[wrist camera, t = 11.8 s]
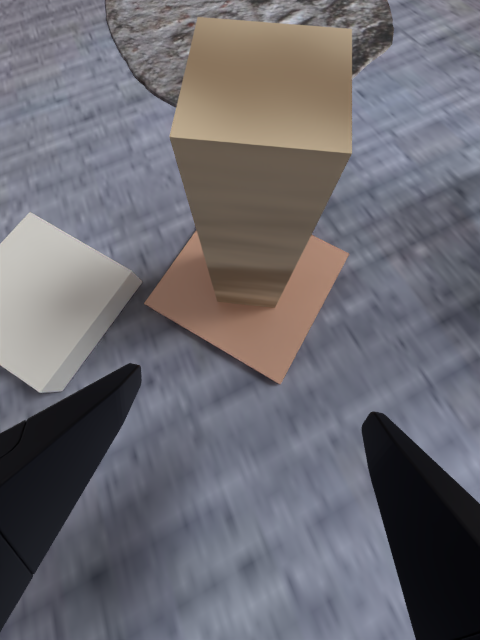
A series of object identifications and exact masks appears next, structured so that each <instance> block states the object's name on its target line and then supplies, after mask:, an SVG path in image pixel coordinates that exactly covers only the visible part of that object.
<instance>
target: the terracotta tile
mask: <svg viewBox="0 0 480 640" xmlns="http://www.w3.org/2000/svg"><path fill="white" fill-rule="evenodd" d="M348 255H349V253H347V252H345V251H343V250H341V249H339V248H337V247H335V246H333V245H331V244H329V243H327V242H325V241H323V240H321V239H319V238H317V237H315V236H313V235H311V237H310V239H309V241H308V243H307V245H306V247H305V249H304V251H303V253H302V255H301V257H300V259H299V261H298V263H297V265H296V267H295V269H294V271H293V273H292V275H291V277H290V279H289V281H288V283H287V285H286V287H285V289H284V291H283V293H282V295H281V297H280V299H279V301H278V303H277V305H276V307H275V308H272V307H262V306H253V305H244V304H235V303H226V302H217V299H216V295H215V292H214V288H213V285H212V282H211V278H210V275H209V271H208V268H207V264H206V261H205V257H204V254H203V251H202V247H201V244H200V240H199V237H198V233H197V230H196V232H195V233H194V234H193V236H192V237H191V239H190V240H189V241H188V243H187V244H186V246H185V247H184V248H183V250H182V251H181V253H180V254H179V255H178V257H177V258H176V259H175V261H174V262H173V264H172V265H171V266H170V268H169V269H168V271H167V272H166V273H165V275H164V276H163V278H162V279H161V280H160V282H159V283H158V285H157V286H156V287H155V289H154V290H153V292H152V293H151V294H150V296H149V297H148V299H147V300H146V301H145V303H144V304H145V305H147V306H148V307H150V308H152V309H153V310H155V311H157V312H158V313H160V314H162V315H163V316H165V317H167V318H168V319H170V320H172V321H173V322H175V323H177V324H178V325H180V326H182V327H184V328H185V329H187V330H189V331H190V332H192V333H194V334H195V335H197V336H199V337H200V338H202V339H204V340H205V341H207V342H209V343H210V344H212V345H214V346H215V347H217V348H219V349H221V350H222V351H224V352H226V353H227V354H229V355H231V356H232V357H234V358H236V359H237V360H239V361H241V362H242V363H244V364H246V365H247V366H249V367H251V368H252V369H254V370H256V371H258V372H259V373H261V374H263V375H264V376H266V377H268V378H269V379H271V380H273V381H274V382H276V383H278V384H281V382H282V381H283V379H284V377H285V375H286V373H287V371H288V369H289V367H290V365H291V363H292V362H293V360H294V358H295V356H296V354H297V352H298V350H299V348H300V346H301V345H302V343H303V341H304V339H305V337H306V335H307V333H308V331H309V329H310V327H311V326H312V324H313V322H314V320H315V318H316V316H317V314H318V312H319V310H320V308H321V307H322V305H323V303H324V301H325V299H326V297H327V295H328V293H329V291H330V290H331V288H332V286H333V284H334V282H335V280H336V278H337V276H338V274H339V272H340V271H341V269H342V267H343V265H344V263H345V261H346V259H347V257H348Z"/></svg>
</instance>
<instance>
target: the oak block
mask: <svg viewBox="0 0 480 640" xmlns="http://www.w3.org/2000/svg"><path fill="white" fill-rule="evenodd" d="M170 140H171V144H172V147H173V151H174V154H175V158H176V161H177V164H178V168H179V171H180V175H181V178H182V182H183V185H184V189H185V192H186V195H187V199H188V202H189V206H190V209H191V213H192V216H193V220H194V223H195V226H196V230H197V233H198V237H199V240H200V244H201V247H202V251H203V254H204V257H205V261H206V264H207V268H208V271H209V275H210V278H211V282H212V285H213V288H214V292H215V295H216V299H217V302H226V303H235V304H244V305H253V306H262V307H272V308H275V307H276V305H277V303H278V301H279V299H280V297H281V295H282V293H283V291H284V289H285V287H286V285H287V283H288V281H289V279H290V277H291V275H292V273H293V271H294V269H295V267H296V265H297V263H298V261H299V259H300V257H301V255H302V253H303V251H304V249H305V247H306V245H307V243H308V241H309V239H310V237H311V235H312V233H313V231H314V229H315V227H316V225H317V223H318V221H319V218H320V216H321V214H322V212H323V210H324V208H325V206H326V204H327V202H328V200H329V198H330V196H331V194H332V192H333V190H334V188H335V186H336V184H337V182H338V180H339V178H340V176H341V174H342V172H343V170H344V168H345V166H346V164H347V162H348V160H349V158H350V156H351V154H352V29H347V28H334V27H321V26H308V25H295V24H282V23H269V22H256V21H244V20H231V19H218V18H205V17H198V18H197V22H196V26H195V30H194V35H193V39H192V43H191V47H190V52H189V56H188V60H187V64H186V69H185V73H184V77H183V81H182V86H181V90H180V94H179V99H178V103H177V107H176V111H175V116H174V120H173V124H172V128H171V133H170Z"/></svg>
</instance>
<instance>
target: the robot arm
mask: <svg viewBox="0 0 480 640" xmlns="http://www.w3.org/2000/svg"><path fill="white" fill-rule="evenodd" d="M140 386H141V367H140V365H137V364H132V363H129V364H127V365H125V366H123V367H121V368H119V369H118V370H116V371H114V372H112V373H110V374H108V375H107V376H105V377H103V378H101V379H99V380H98V381H96V382H94V383H92V384H90V385H88V386H87V387H85V388H83V389H81V390H79V391H77V392H76V393H74V394H72V395H70V396H68V397H66V398H65V399H63V400H61V401H59V402H57V403H56V404H54V405H52V406H50V407H48V408H46V409H45V410H43V411H41V412H39V413H37V414H35V415H34V416H32V417H30V418H28V419H27V421H26V420H25V421H22V422H21V423H19V424H17V425H15V426H13V427H12V428H10V429H8V430H6V431H4V432H2V433H0V631H1V630H2V628H3V626H4V625H5V623H6V621H7V620H8V618H9V616H10V615H11V613H12V611H13V609H14V608H15V606H16V604H17V603H18V601H19V599H20V598H21V596H22V594H23V593H24V591H25V589H26V587H27V586H28V584H29V582H30V581H31V579H32V577H33V574H34V573H35V572H36V570H37V569H38V567H39V565H40V563H41V562H42V560H43V558H44V557H45V555H46V553H47V552H48V550H49V548H50V547H51V545H52V543H53V542H54V540H55V538H56V536H57V535H58V533H59V531H60V530H61V528H62V526H63V525H64V523H65V521H66V520H67V518H68V516H69V515H70V513H71V511H72V509H73V508H74V506H75V504H76V503H77V501H78V499H79V498H80V496H81V494H82V493H83V491H84V489H85V487H86V486H87V484H88V482H89V481H90V479H91V477H92V476H93V474H94V472H95V471H96V469H97V467H98V466H99V464H100V462H101V460H102V459H103V457H104V455H105V454H106V452H107V450H108V449H109V447H110V445H111V444H112V442H113V440H114V438H115V437H116V435H117V433H118V432H119V430H120V428H121V426H122V425H123V423H124V421H125V419H126V417H127V414H128V412H129V410H130V408H131V406H132V403H133V401H134V399H135V397H136V395H137V392H138V390H139V388H140ZM362 436H363V441H364V447H365V453H366V458H367V464H368V469H369V473H370V477H371V481H372V485H373V488H374V492H375V495H376V499H377V502H378V506H379V510H380V513H381V517H382V520H383V524H384V528H385V531H386V535H387V538H388V542H389V545H390V549H391V553H392V556H393V560H394V563H395V567H396V570H397V574H398V578H399V581H400V585H401V588H402V592H403V595H404V599H405V603H406V606H407V610H408V613H409V617H410V620H411V624H412V628H413V631H414V635H415V638H416V640H480V504H479V503H478V502H477V501H476V500H475V499H474V498H473V497H472V496H471V495H470V494H469V493H468V492H467V491H466V490H465V489H463V488H462V487H461V486H460V485H459V484H458V483H457V482H456V481H455V480H454V479H453V478H452V477H451V476H450V475H449V474H448V473H446V472H445V471H444V470H443V469H442V468H441V467H440V466H439V465H438V464H437V463H436V462H435V461H434V460H433V459H432V458H430V457H429V456H428V455H427V454H426V453H425V452H424V451H423V450H422V449H421V448H420V447H419V446H418V445H417V444H416V443H415V442H413V441H412V440H411V439H410V438H409V437H408V436H407V435H406V434H405V433H404V432H403V431H402V430H401V429H400V428H399V427H397V426H396V425H395V424H394V423H393V422H392V421H391V420H390V419H389V418H388V417H387V416H386V415H385V414H383V413H379V412H371V413H370V414H369V415H368V417H367V418H366V420H365V421H364V423H363V425H362Z"/></svg>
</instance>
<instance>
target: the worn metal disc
mask: <svg viewBox="0 0 480 640" xmlns="http://www.w3.org/2000/svg"><path fill="white" fill-rule="evenodd" d="M106 13H107V23H108V26H109V29H110V32H111V35H112V38H113V40H114V42H115V44H116V46H117V48H118V49H119V51H120V53H121V55H122V57H123V58H124V60H125V61H126V62H127V64H128V66H129V68H130V70H131V71H132V73H133V74H134V76H135V78H136V79H137V80H138V81H139V82H141V83H142V84H143V85H144V86H146V88H147V89H148V90H149V91H150V92H151V93H152V94H154V95H155V96H156V97H158V98H160V99H161V100H163V101H165V102H167V103H168V104H170V105H172V106H174V107H177V103H178V99H179V94H180V90H181V86H182V81H183V77H184V73H185V69H186V64H187V60H188V56H189V52H190V47H191V43H192V39H193V35H194V30H195V26H196V22H197V18H198V17H205V18H218V19H231V20H244V21H256V22H269V23H282V24H295V25H308V26H321V27H334V28H347V29H352V79H353V78H354V77H355V76H356V75H358V74H359V73H360V72H361V71H362V70H363V69H364V68H365V67H366V66H367V65H368V64H369V63H371V62H372V61H373V60H375V59H376V58H377V57H379V56H380V55H382V54H383V53H384V52H386V50H387V49H388V48H389V47H390V46H391V45H392V40H393V32H394V27H393V24H392V22H393V19H392V15H391V11H390V7H389V4H388V1H387V0H106Z"/></svg>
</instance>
